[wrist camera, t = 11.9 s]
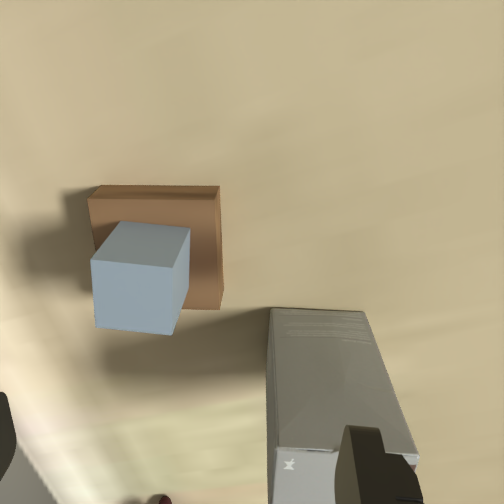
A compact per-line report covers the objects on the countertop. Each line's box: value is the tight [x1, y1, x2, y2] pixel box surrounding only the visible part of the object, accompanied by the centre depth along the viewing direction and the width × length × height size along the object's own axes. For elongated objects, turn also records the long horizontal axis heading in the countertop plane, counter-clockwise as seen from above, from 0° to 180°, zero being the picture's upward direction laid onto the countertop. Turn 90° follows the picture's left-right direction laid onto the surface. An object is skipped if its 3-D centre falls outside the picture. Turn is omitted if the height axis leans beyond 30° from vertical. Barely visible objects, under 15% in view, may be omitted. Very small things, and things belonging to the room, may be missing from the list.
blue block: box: [90, 221, 190, 335], centre depth 33 cm, size 5×5×6 cm
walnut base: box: [87, 185, 224, 310], centre depth 37 cm, size 9×9×4 cm
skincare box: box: [266, 308, 420, 504], centre depth 34 cm, size 8×7×16 cm
